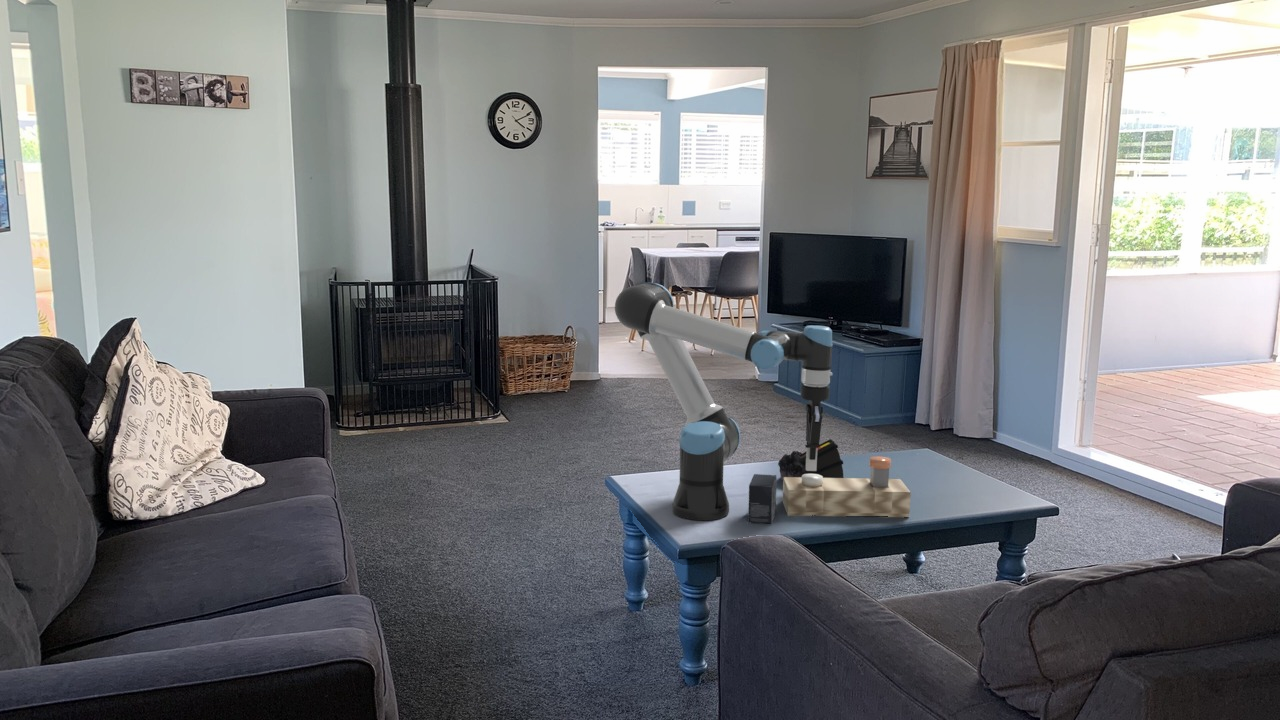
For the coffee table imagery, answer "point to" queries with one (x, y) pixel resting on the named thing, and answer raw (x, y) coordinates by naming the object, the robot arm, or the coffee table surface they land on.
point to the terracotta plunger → (879, 471)
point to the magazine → (825, 461)
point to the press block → (845, 498)
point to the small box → (762, 499)
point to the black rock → (790, 465)
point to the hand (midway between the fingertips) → (810, 470)
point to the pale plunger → (812, 480)
